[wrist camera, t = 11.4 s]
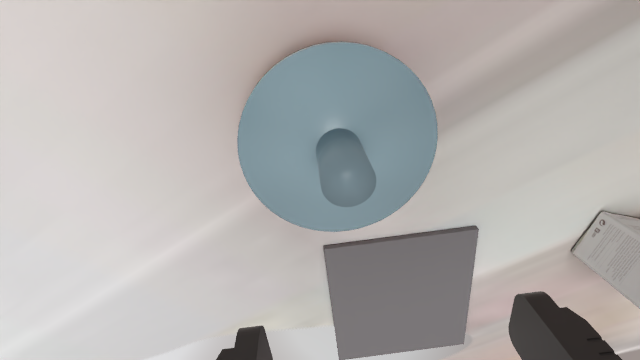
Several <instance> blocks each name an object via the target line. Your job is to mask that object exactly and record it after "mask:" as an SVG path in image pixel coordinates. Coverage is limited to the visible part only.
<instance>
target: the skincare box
mask: <svg viewBox="0 0 640 360" xmlns="http://www.w3.org/2000/svg"><path fill="white" fill-rule="evenodd" d="M572 253H573V254H574V255H575V256H576V257H577V258H579V259H580V260H581V261H582V262H583V263H585V264H586V265H587V266H588V267H590V268H591V269H592V270H593V271H594V272H596V273H597V274H598V275H599V276H601V277H602V278H603V279H604V280H605V281H607V282H608V283H609V284H610V285H611V286H613V287H614V288H615V289H616V290H617V291H619V292H620V293H621V294H622V295H623V296H625V297H626V298H627V299H628V300H630V301H631V302H632V303H633V304H635V305H636V306H637V307H638V308H639V309H640V219H637V218H633V217H628V216H623V215H618V214H612V213H608V212H604V211H603V212H601V213H600V214H599V215H598V217H597V218H596V220H595V221H594V223H593V224H592V225H591V227H590V228H589V229H588V230H587V232H586V233H585V234H584V235H583V236H582V237H581V239H580V240H579V241H578V243H577V244H576V245H575V246H574V248H573V249H572Z"/></svg>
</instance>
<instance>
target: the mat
mask: <svg viewBox="0 0 640 360" xmlns="http://www.w3.org/2000/svg"><path fill="white" fill-rule="evenodd" d="M478 230H479V229H478V228H477V227H476V226H471V227H463V228H455V229H448V230H440V231H433V232H425V233H417V234H410V235H402V236H394V237H387V238H379V239H371V240H364V241H356V242H348V243H341V244H333V245H326V246H324V253H325V261H326V268H327V275H328V282H329V290H330V297H331V304H332V312H333V319H334V326H335V333H336V341H337V348H338V355H339V360H345V359H353V358H360V357H368V356H376V355H383V354H391V353H399V352H406V351H414V350H421V349H429V348H436V347H443V346H451V345H459V344H464V338H465V330H466V323H467V315H468V307H469V300H470V292H471V284H472V276H473V269H474V261H475V253H476V246H477V238H478Z"/></svg>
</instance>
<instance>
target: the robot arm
mask: <svg viewBox="0 0 640 360" xmlns="http://www.w3.org/2000/svg"><path fill="white" fill-rule="evenodd" d="M509 335H510V338H511V341H512V344H513V346H514V347H515V349H516V351H517V352H518V354H519V356H520V357H521V359H522V360H622V359H621V358H620V357H619V356H618V355H616V354H615V353H614V350H613V349H612V348H611V347H610V346H609V345H608V344H607V343H606V342H605V340H604V341H603V340H602V339H601V336H600V335H599V334H598V333H597V332H596V331H595V330H594V328H593V327H592V326H591V325H590V324H589V323H588V322H587V321H586V320H585V319H583V318H582V317H580V316H579V315H577V314H576V313H574V312H573V311H571V310H570V309H568V308H567V307H564V308H559V307H558V306H557V304H556V303H555V302H554V301H553V300H552V299H551V297H550V296H549V295H548V294H546V293H545V292H541V291H540V292H532V293H525V294H518V295H516V296H515V299H514V303H513V308H512V313H511V318H510V322H509ZM216 360H273V358H272V354H271V350H270V347H269V343H268V340H267V337H266V333H265V329H264V327H263V326H255V327H247V328H240V329H239V330H238V332H237V336H236V342H235V347H234V348H231V349H223V350H222V351H221V353H220V354H219V356H218V358H217V359H216Z"/></svg>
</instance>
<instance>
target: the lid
mask: <svg viewBox="0 0 640 360" xmlns="http://www.w3.org/2000/svg"><path fill="white" fill-rule="evenodd" d="M437 137H438V136H437V120H436V114H435V110H434V107H433V104H432V100H431V98H430V96H429V94H428V92H427V90H426V88H425V87H424V85H423V84H422V83H421V81H420V80H419V78H418V77H417V76H416V75H415V74H414V73H413V72H412V71H411V70H410V69H409V68H408V67H407V66H406V65H405V64H403V63H402V62H401V61H399V60H398V59H396V58H395V57H393V56H391V55H389V54H388V53H386V52H384V51H382V50H379V49H377V48H374V47H371V46H368V45H364V44H360V43H354V42H342V41H341V42H326V43H321V44H316V45H312V46H309V47H307V48H304V49H301V50H298V51H297V52H295V53H293V54H291V55H289V56H287V57H285V58H284V59H283V60H281V61H280V62H278V63H277V64H276V65H274V66H273V67H272V68H271V69H270V70H269V71H268V72H267V73H266V74H265V75H264V76H263V77H262V79H261V80H260V81H259V82H258V84H257V85H256V86H255V88H254V90H253V91H252V93H251V95H250V97H249V98H248V100H247V103H246V105H245V107H244V110H243V112H242V116H241V120H240V124H239V130H238V154H239V160H240V165H241V168H242V171H243V174H244V176H245V178H246V180H247V182H248V184H249V186H250V188H251V189H252V191H253V192H254V194H255V195H256V196H257V197H258V198H259V200H260V201H261V202H262V203H263V204H264V205H265V206H266V207H267V208H268V209H270V210H271V211H272V212H273V213H275V214H276V215H278V216H279V217H281V218H283V219H285V220H286V221H288V222H290V223H293V224H295V225H298V226H300V227H304V228H308V229H312V230H318V231H331V232H337V231H348V230H353V229H358V228H362V227H365V226H368V225H371V224H373V223H376V222H378V221H380V220H382V219H384V218H386V217H388V216H389V215H391V214H392V213H394V212H395V211H397V210H398V209H399V208H401V207H402V206H403V205H404V204H405V203H406V202H407V201H408V200H409V199H410V198H411V197H412V196H413V195H414V194H415V193H416V191H417V190H418V189H419V187H420V186H421V185H422V183H423V181H424V180H425V178H426V176H427V174H428V172H429V170H430V167H431V165H432V162H433V159H434V155H435V152H436V146H437Z"/></svg>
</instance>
